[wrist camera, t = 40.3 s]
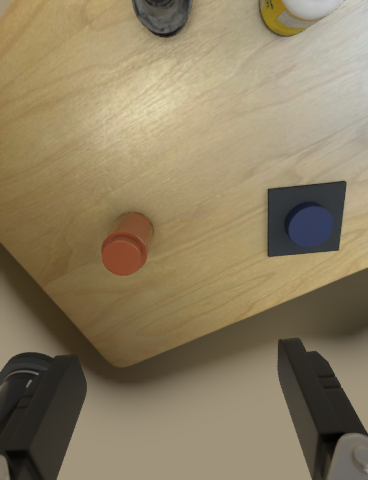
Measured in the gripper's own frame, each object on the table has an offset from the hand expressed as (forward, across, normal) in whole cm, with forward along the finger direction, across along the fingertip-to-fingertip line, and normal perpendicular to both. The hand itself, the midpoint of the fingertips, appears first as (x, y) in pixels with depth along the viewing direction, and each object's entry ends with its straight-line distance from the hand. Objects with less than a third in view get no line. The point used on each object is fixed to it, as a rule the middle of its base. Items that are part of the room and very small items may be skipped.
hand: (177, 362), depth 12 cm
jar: (+30, +8, +6) cm, 32 cm away
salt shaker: (+30, 0, -19) cm, 36 cm away
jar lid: (+28, -16, +7) cm, 33 cm away
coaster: (+30, -16, +7) cm, 35 cm away
